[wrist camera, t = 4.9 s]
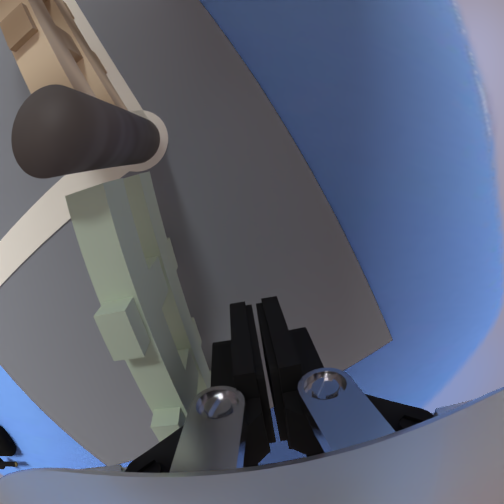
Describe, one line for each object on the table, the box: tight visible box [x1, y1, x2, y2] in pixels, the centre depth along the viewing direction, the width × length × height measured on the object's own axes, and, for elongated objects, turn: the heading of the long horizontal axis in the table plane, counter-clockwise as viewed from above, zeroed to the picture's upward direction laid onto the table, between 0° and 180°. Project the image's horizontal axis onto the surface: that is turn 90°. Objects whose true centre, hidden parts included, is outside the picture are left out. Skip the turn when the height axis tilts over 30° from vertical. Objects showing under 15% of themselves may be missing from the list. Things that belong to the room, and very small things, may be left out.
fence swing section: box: [65, 171, 211, 442], centre depth 10 cm, size 10×1×6 cm, turn 12°
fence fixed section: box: [0, 0, 160, 179], centre depth 6 cm, size 13×4×7 cm, turn 31°
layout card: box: [0, 0, 392, 466], centre depth 12 cm, size 20×28×1 cm
